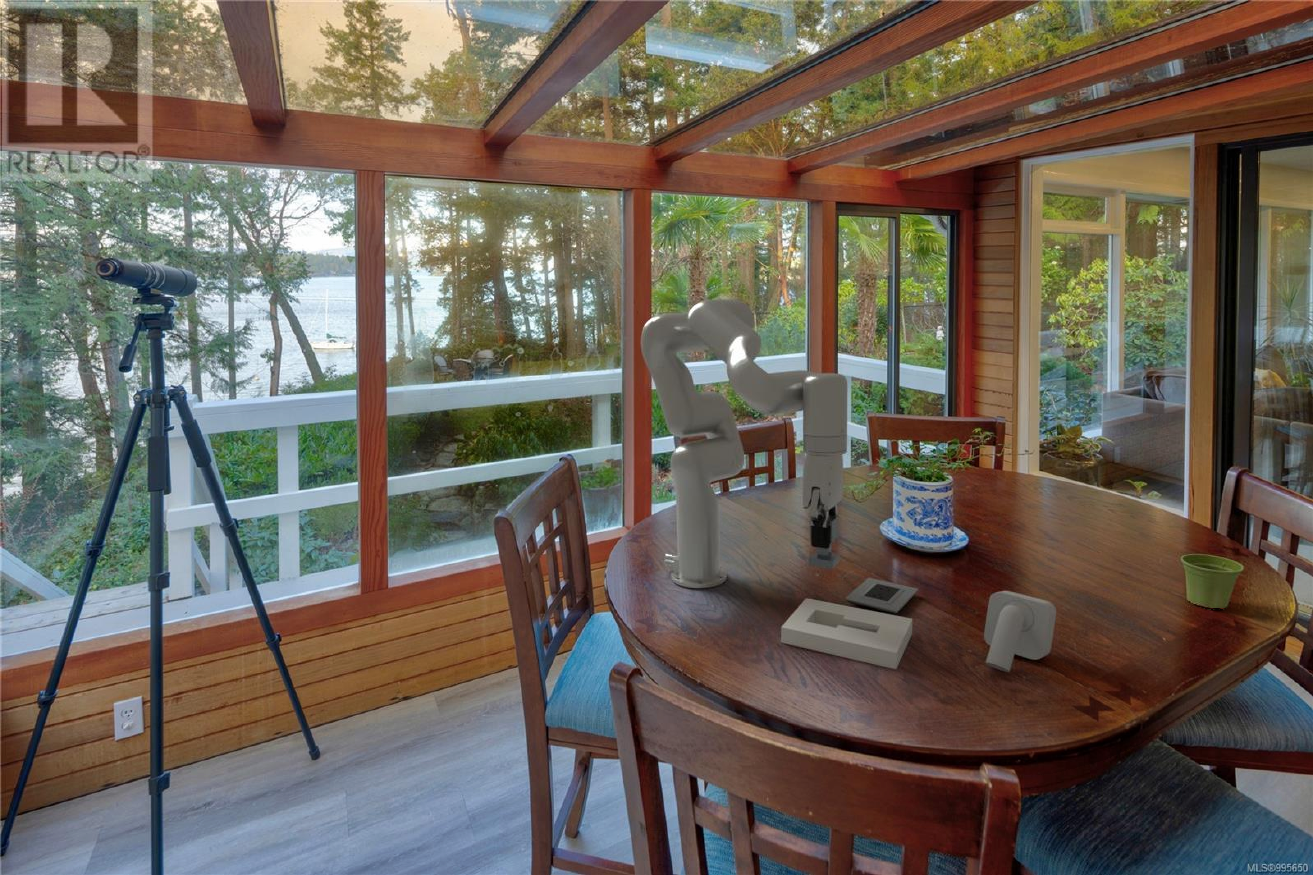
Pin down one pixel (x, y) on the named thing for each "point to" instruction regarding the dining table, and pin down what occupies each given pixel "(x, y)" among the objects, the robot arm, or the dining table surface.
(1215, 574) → the plant pot
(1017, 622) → the wall hook
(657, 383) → the robot arm
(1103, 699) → the dining table surface
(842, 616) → the keyhole plate
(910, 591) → the electrical outlet
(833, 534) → the keyhole peg
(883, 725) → the dining table surface
